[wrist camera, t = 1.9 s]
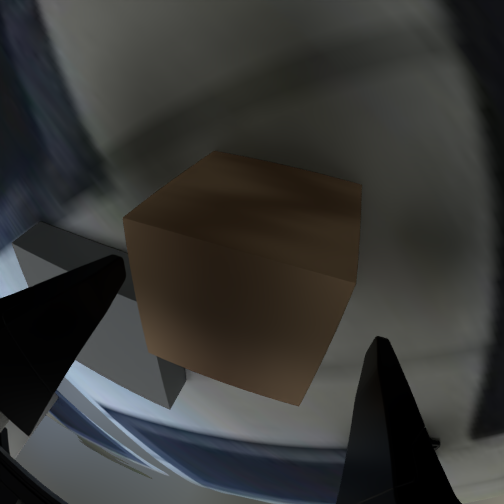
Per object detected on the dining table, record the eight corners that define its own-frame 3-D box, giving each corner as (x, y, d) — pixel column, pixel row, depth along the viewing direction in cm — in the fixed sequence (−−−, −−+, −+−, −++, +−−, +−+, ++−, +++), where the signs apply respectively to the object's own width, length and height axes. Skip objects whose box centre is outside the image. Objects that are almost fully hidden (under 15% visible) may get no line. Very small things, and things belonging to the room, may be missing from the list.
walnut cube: (361, 184, 11) (356, 283, 7) (326, 298, 15) (299, 406, 10) (214, 150, 13) (122, 217, 8) (210, 264, 16) (148, 352, 11)
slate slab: (175, 269, 17) (146, 305, 15) (186, 381, 24) (169, 409, 22) (40, 221, 19) (11, 242, 17) (77, 328, 26) (59, 349, 24)
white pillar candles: (41, 379, 50) (-8, 446, 34) (64, 401, 53) (18, 467, 37) (25, 371, 55) (-19, 430, 39) (45, 392, 58) (3, 449, 42)
